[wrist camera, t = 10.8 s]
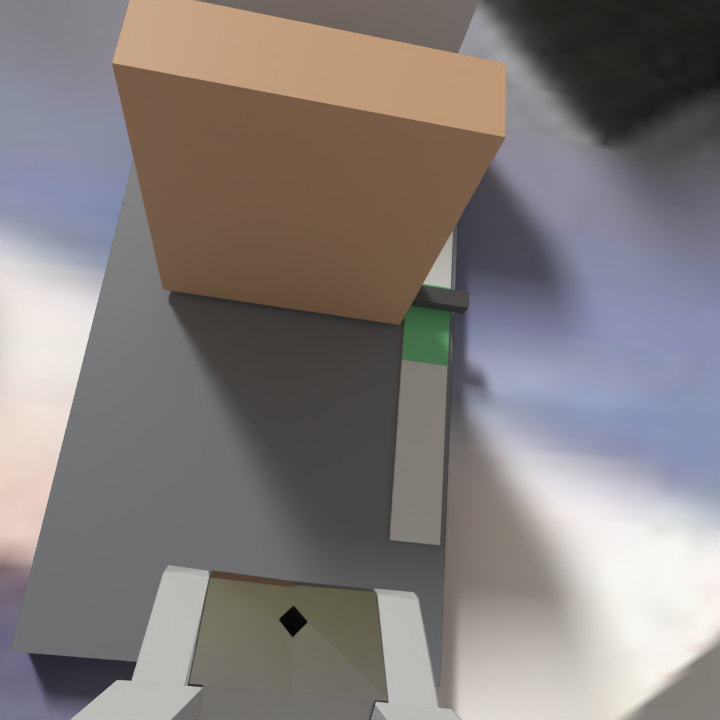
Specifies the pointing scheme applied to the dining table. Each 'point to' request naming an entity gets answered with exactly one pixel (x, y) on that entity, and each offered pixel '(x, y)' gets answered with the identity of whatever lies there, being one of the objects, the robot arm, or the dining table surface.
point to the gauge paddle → (302, 156)
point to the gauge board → (248, 428)
